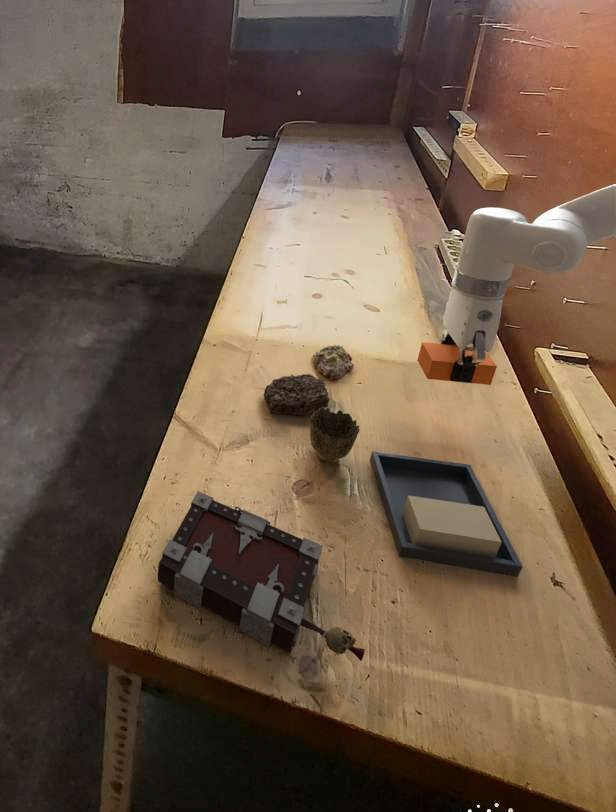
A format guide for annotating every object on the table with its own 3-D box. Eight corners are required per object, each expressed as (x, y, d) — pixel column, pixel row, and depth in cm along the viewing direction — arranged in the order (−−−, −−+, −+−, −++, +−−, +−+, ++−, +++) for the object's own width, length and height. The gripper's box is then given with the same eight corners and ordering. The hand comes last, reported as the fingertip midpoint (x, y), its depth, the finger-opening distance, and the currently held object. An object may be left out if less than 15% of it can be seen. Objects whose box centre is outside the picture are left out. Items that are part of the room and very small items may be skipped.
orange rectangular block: (477, 365, 103) (483, 347, 102) (490, 385, 98) (497, 366, 96) (417, 360, 106) (421, 342, 104) (427, 379, 100) (432, 360, 99)
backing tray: (465, 476, 92) (470, 464, 91) (516, 579, 76) (522, 567, 75) (368, 462, 95) (372, 451, 94) (398, 559, 79) (402, 546, 78)
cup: (351, 449, 98) (360, 413, 94) (350, 479, 92) (359, 442, 88) (305, 438, 101) (312, 402, 97) (302, 466, 95) (309, 430, 91)
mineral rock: (314, 339, 125) (354, 339, 120) (317, 356, 126) (356, 356, 122) (307, 366, 116) (349, 368, 112) (310, 384, 118) (352, 386, 113)
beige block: (476, 525, 83) (484, 506, 81) (493, 561, 77) (501, 542, 76) (401, 514, 85) (408, 495, 83) (413, 548, 80) (420, 529, 78)
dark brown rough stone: (323, 392, 112) (328, 371, 110) (327, 425, 103) (332, 403, 101) (263, 382, 115) (266, 362, 113) (262, 414, 107) (266, 393, 104)
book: (196, 511, 87) (198, 487, 85) (373, 592, 75) (381, 567, 72) (154, 587, 76) (156, 562, 74) (353, 696, 64) (362, 671, 62)
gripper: (529, 308, 85) (496, 402, 93) (484, 261, 101) (459, 346, 108) (474, 304, 87) (446, 397, 95) (437, 259, 102) (416, 342, 110)
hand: (453, 369), depth 102 cm, fingers closed on orange rectangular block, 6 cm apart
